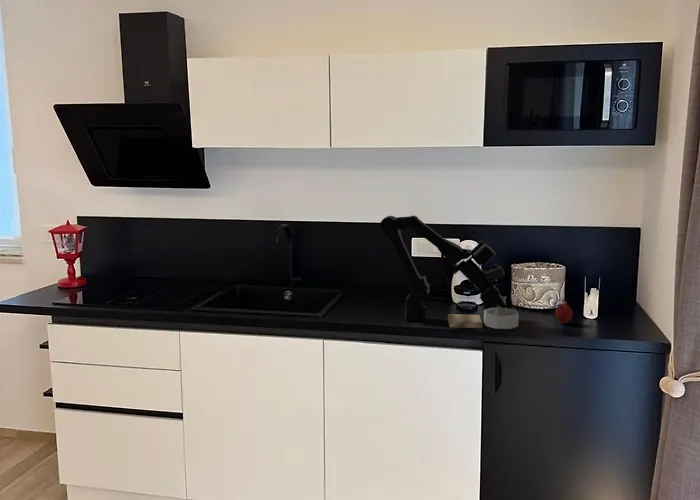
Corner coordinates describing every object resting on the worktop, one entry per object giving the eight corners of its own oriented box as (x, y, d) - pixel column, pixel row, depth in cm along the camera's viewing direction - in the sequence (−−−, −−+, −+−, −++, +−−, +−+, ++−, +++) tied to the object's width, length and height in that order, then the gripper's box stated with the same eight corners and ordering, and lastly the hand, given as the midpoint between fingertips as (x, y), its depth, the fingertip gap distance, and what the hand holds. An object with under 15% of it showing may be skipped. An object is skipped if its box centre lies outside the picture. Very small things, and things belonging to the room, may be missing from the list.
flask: (495, 320, 228) (496, 293, 227) (514, 323, 224) (515, 296, 222) (486, 324, 223) (487, 296, 221) (505, 328, 218) (506, 300, 217)
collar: (486, 328, 218) (487, 315, 217) (482, 319, 229) (482, 307, 229) (519, 329, 217) (520, 316, 217) (514, 320, 228) (514, 308, 228)
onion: (562, 327, 220) (563, 304, 219) (551, 322, 225) (552, 300, 224) (575, 325, 222) (576, 302, 221) (564, 321, 227) (565, 299, 226)
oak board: (450, 327, 220) (450, 321, 219) (447, 319, 230) (447, 314, 229) (482, 327, 219) (482, 322, 219) (478, 320, 229) (478, 314, 228)
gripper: (491, 263, 211) (524, 297, 211) (491, 254, 229) (521, 285, 229) (466, 285, 214) (499, 318, 214) (468, 274, 232) (498, 305, 232)
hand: (505, 306), depth 222 cm, fingers closed on flask, 3 cm apart
